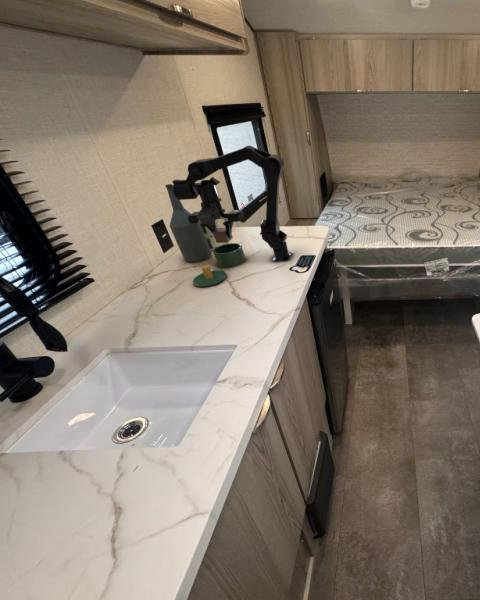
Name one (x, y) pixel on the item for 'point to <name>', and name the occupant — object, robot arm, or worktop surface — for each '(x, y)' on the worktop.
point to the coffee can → (211, 236)
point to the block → (221, 235)
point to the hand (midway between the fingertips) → (224, 237)
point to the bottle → (187, 232)
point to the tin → (229, 255)
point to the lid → (209, 277)
